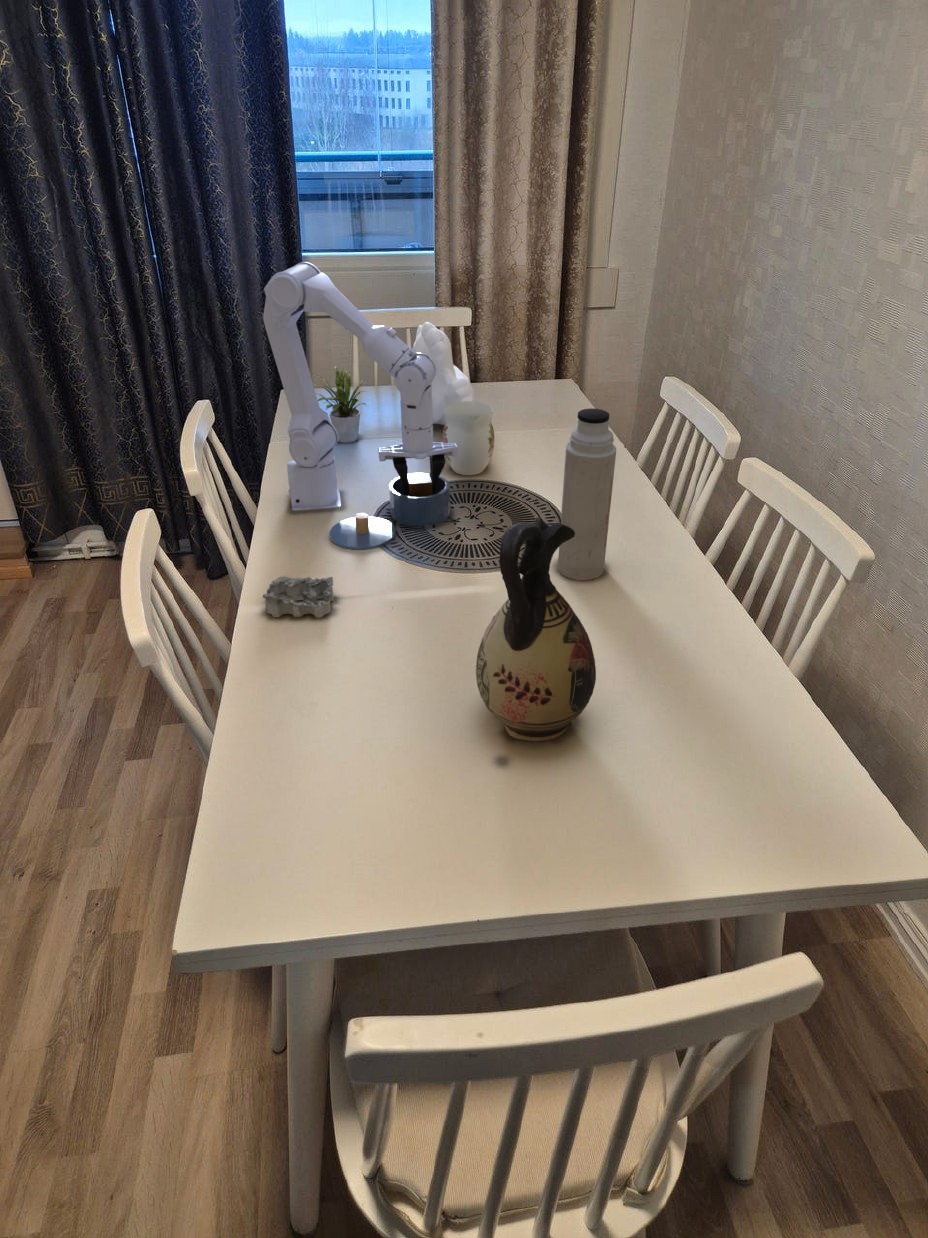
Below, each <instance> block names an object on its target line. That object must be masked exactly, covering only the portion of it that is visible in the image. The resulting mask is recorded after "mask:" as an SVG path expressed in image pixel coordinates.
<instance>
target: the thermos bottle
mask: <svg viewBox="0 0 928 1238" xmlns="http://www.w3.org/2000/svg"><path fill="white" fill-rule="evenodd" d="M577 419H578V420H577V426H576V428H574V429H573V430H572V431H571V436H570V438H569V442H567V443H566V445H565V456H564V468H563V470H564V471H563V484H562V485H563V486H562V499H561V513H560V514H561V516H560V517H561V521H560V523H561V524H563V525H566V526H568V527H570V528H571V529H572V530H574V532H575V536H574V537H573V538H572V539H570V540H568V541H566V542H564V543H562V544H561V545H560V546H559V547H558V557H557V570H558V572H559V573H560V574H561V575H563V576H564V577H566V578H569V579H572V580H577V581H590V580H595V579H597V578H599V577H600V576H601V575H603V573H604V570H605V563H606V562H605V561H606V554H607V553H606V552H607V544H608V543H607V542H608V533H609V524H610V512H611V505H612V496H613V487H614V476H615V468H616V458H617V457H616V456H617V447H616V445H615V444H614V441H615V438H614V433H613V432H612V431H611V430H610V428H609V427H610V421H609V420H610V413H609V412H608V411H606V410H604V409H601V408H594V407H593V408H584V409H581V410H579V411H578V412H577Z"/></svg>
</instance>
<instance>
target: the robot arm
mask: <svg viewBox="0 0 928 1238" xmlns="http://www.w3.org/2000/svg"><path fill="white" fill-rule="evenodd" d="M263 291H264V295H265V302H264V308H263V315H262V320H263V324H264V328H265V331H266V335H267V337H268V341H269V345H270V348H271V351H272V355H273V358H274V361H275V365H276V367H277V371H278V375H279V378H280V381H281V385H282V387H283V391H284V395H285V398H286V401H287V405H288V408H289V411H290V414H291V417H290V421H289V425H288V428H287V429H288V430H287V433H288V436H289V445H288V450H289V454H290V456H291V458H292V460H290V461H287V463H286V467H287V468H286V469H287V478H288V480H287V481H288V487H289V488H288V497H289V499H290V504H291V510H292V511H302V510H303V511H305V510H316V509H319V510H320V509H331V508H332V509H333V508H340V507H342V501H341V492H340V490H339V489H338V482H337V481H338V480H337V470H336V459H335V452H334V451H335V450H334V448H335V447H336V446H337V444H338V442H339V441H338V433H337V430H336V428H335V427H334V426H333V424H332V423H331V419H330V416H329V413H328V412H327V411H326V410H324V409H323V408H321V407H320V405H319V404H320V403H319V401H318V396H317V394H316V393H317V392H316V390H315V385H314V383H313V379H312V375H310V374H311V372H310V369H309V365H308V362H307V357H306V354H305V350H304V348H303V344H302V340H301V337H300V333H299V329H298V325H297V322H298V320H299V319H300V317H301V315H302V314H303V312H304V313H325V314H326V315H328V316H329V317H330V318H331V319H333V320H334V321H335V322H337V323H338V324H339V325H341V327H343V328H344V329H346V330H347V331H348V332H350V333H351V334H352V335H353V336H354V337H356V338H357V339H359V340H360V341H361V343H362V349H363V352H364V353H365V355H367V356H369V358H370V359H372V361H374V362H375V363H376V364H377V365H379V367H380V368H381V369H383V370H384V371H385V372H387V373H388V374H389V376H391V377H393V382H394V386H395V387H396V389H397V390H398V391H399V395H400V402H399V403H400V420H401V421H400V422H401V423H400V425H401V440H402V441H401V443H399V444H395V445H389V446H384V447H378V449H377V450H378V460H379V462H386V461H388V460H392V464H393V467H394V469H395V471H396V473H397V475H398V477H399V476H400V479H401V481H402V484H403V487H404V493H405V495H406V496H409V488H408V474H409V473H408V472H409V471H408V469H409V468H408V467H409V466H408V464H407V461H408V460H407V459H415V460H424V459H426V458H429V469H430V470H429V473H430V477H431V480H432V494H435V490H436V485H437V481H438V478H439V476H441V473H442V472H443V470H444V468H445V466H446V456H450V455H451V456H452V457H457V445H456V443H443V442H439V441H438V442H436V441H434V424H433V408H432V386H431V385H429V384H430V383H431V382H432V381H433V379H434V377H435V374H436V369H435V365H434V363H433V361H432V360H431V359H430V358H429V356H428V355H426V354H424V353H417V351H416V350H415V349H413V348H411V347H410V346H409V345H408V344H406V342H405V341H403V340H402V339H401V338H400V337H399V336H397V335H396V334H397V331H396V330H395V329H394V328H393V327H390V328H388V327H387V326H385V325H374V324H373V323H372V322H371V321H370V320H369V319H368V318H367V317H366V316H365V315H364V314H363V312H362V311H360V310H359V309H358V308H357V307H356V306H355V305H354V304H353V303H352V302H351V301H350V300H349V299H348V298H347V297H346V296H345V295H344V294H343V293H342V292H341V291H340V290H339V289H338V288H337V287H336V286H335V284H334V283H333V282H332V280H331V278H330V277H329V276H328V275H327V274H325V273H324V272H321V270H320V269H319V268H318V267H317V266H316V265H314V264H313V263H311V262H308V261H301V262H299V263H297V264H295V265H294V266H291V267H289V268H287V269H285V270H283V271H279V272H277V273H275V274H274V275H273V276H271V278H270V279H269V280H268V282H267V284H266V285H265V286H264V288H263ZM428 385H429V386H428Z"/></svg>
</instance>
